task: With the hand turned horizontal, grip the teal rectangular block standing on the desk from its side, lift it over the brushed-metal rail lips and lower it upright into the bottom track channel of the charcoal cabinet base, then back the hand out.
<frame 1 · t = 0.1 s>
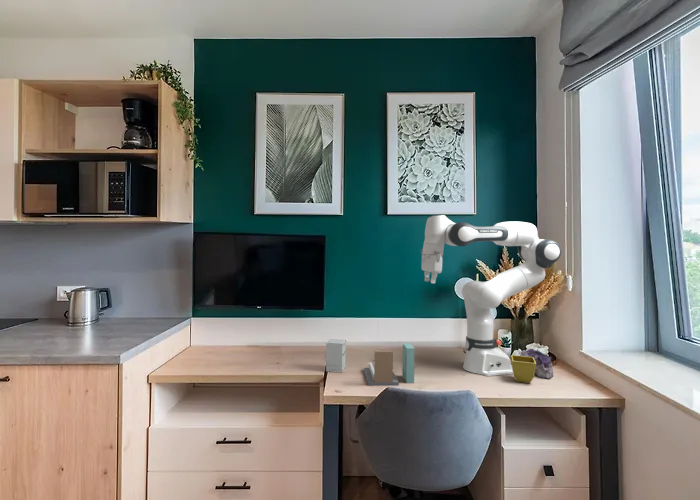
hand: (429, 282, 171), 39 cm above the table, fingers open, 8 cm apart
teal rectangular block: (408, 379, 159), on the table
supplement box: (335, 370, 171), on the table
flower pot: (522, 381, 159), on the table
geode: (538, 372, 171), on the table
track base: (380, 377, 161), on the table
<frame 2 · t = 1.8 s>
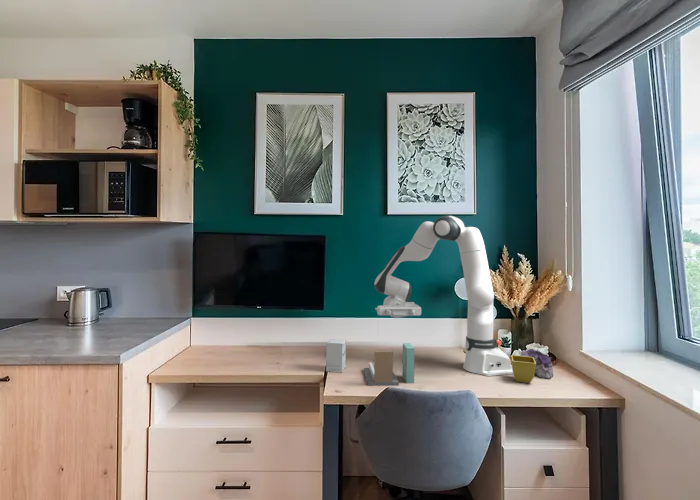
hand: (402, 313, 171), 25 cm above the table, fingers open, 8 cm apart
nothing on the table moved.
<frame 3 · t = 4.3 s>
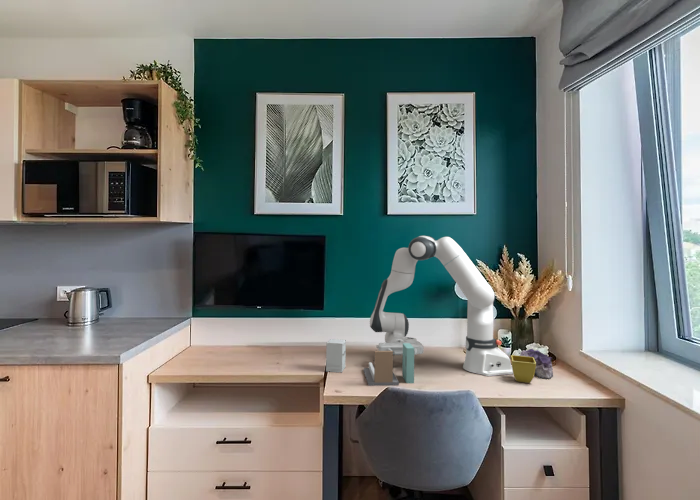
hand: (403, 353, 167), 8 cm above the table, fingers open, 8 cm apart
nothing on the table moved.
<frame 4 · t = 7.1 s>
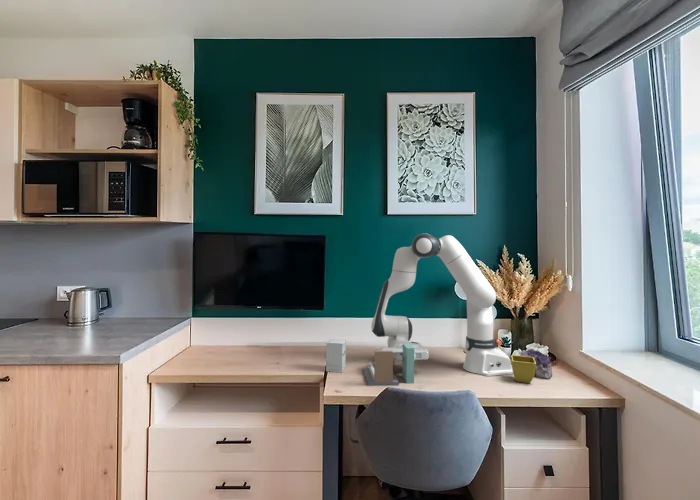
hand: (408, 359, 159), 8 cm above the table, fingers closed on teal rectangular block, 3 cm apart
teal rectangular block: (408, 379, 159), on the table, touching gripper
everything else where it was.
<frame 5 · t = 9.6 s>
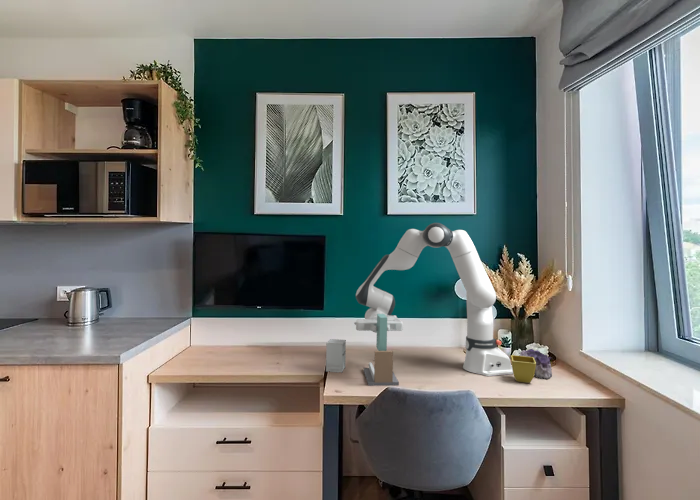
hand: (381, 329, 160), 20 cm above the table, fingers closed on teal rectangular block, 3 cm apart
teal rectangular block: (381, 349, 160), point 12 cm above the table, touching gripper
everything else where it was.
when the fingers open (11 cm above the table, at t = 12.6 s): teal rectangular block stays where it is, resting on track base.
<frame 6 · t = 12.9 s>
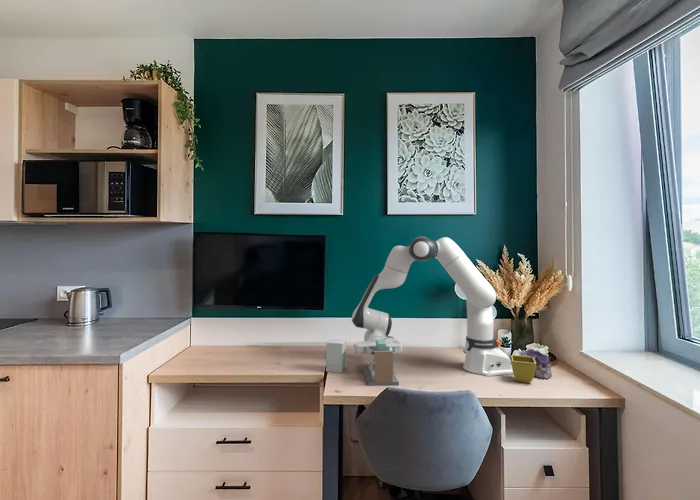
hand: (380, 352, 160), 11 cm above the table, fingers open, 6 cm apart
teal rectangular block: (380, 375, 160), point 1 cm above the table, touching track base
everything else where it was.
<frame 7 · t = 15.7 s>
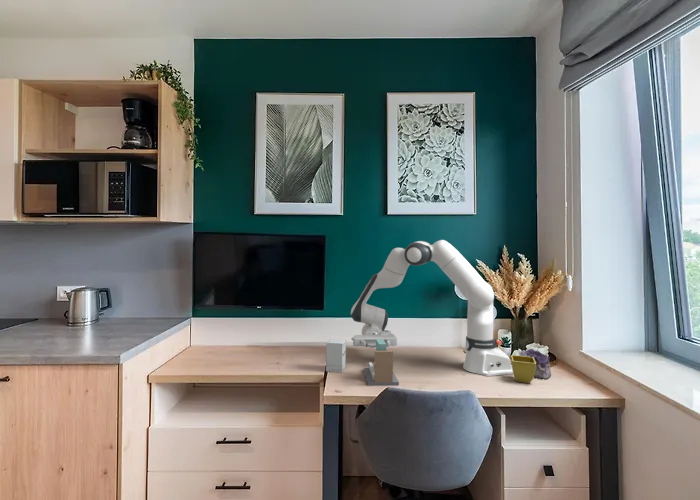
hand: (376, 345, 172), 11 cm above the table, fingers open, 8 cm apart
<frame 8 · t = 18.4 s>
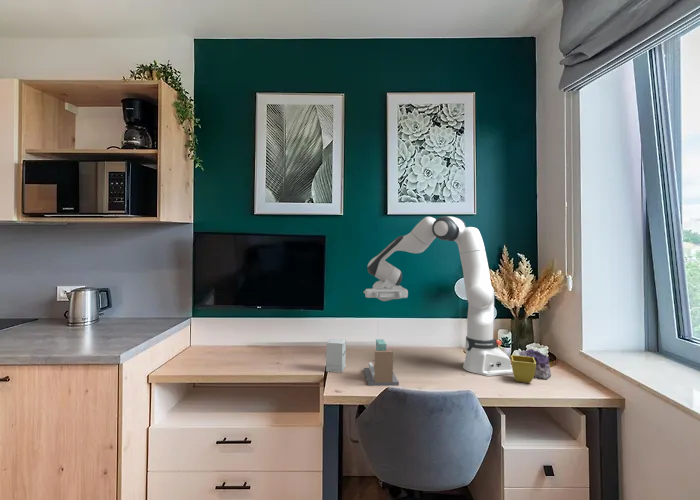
hand: (388, 295, 177), 32 cm above the table, fingers open, 8 cm apart
at the end: teal rectangular block 0.4 cm off-centre on the track base, point 1.2 cm above the track base's base; teal rectangular block tilted 0°; the gripper is holding nothing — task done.
